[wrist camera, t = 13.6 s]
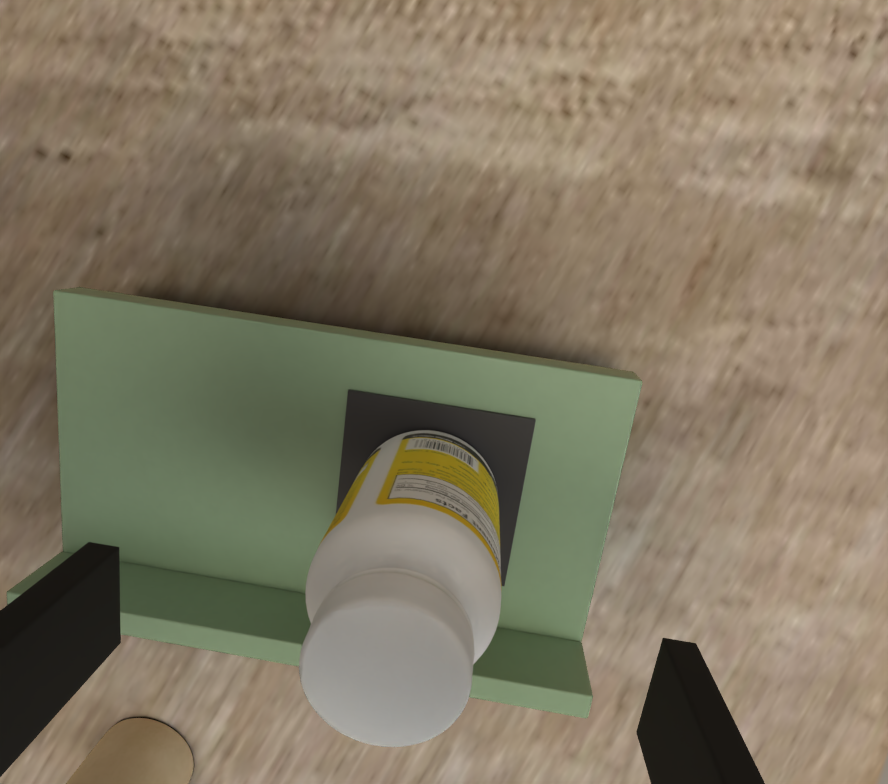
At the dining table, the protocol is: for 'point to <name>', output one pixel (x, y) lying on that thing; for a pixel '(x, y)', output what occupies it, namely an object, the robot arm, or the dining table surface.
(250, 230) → the dining table surface
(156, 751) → the candle
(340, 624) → the supplement bottle
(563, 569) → the green l-shaped stand
